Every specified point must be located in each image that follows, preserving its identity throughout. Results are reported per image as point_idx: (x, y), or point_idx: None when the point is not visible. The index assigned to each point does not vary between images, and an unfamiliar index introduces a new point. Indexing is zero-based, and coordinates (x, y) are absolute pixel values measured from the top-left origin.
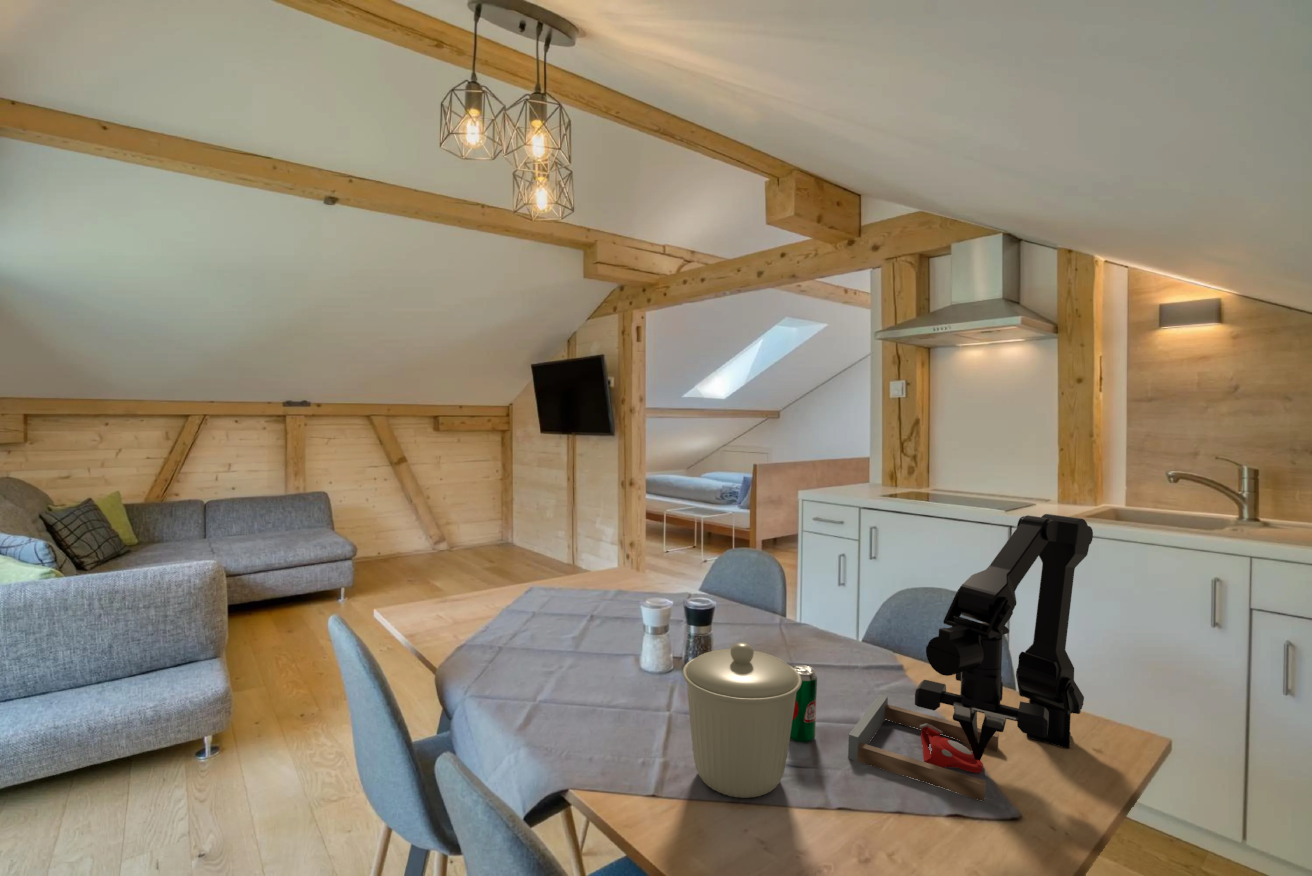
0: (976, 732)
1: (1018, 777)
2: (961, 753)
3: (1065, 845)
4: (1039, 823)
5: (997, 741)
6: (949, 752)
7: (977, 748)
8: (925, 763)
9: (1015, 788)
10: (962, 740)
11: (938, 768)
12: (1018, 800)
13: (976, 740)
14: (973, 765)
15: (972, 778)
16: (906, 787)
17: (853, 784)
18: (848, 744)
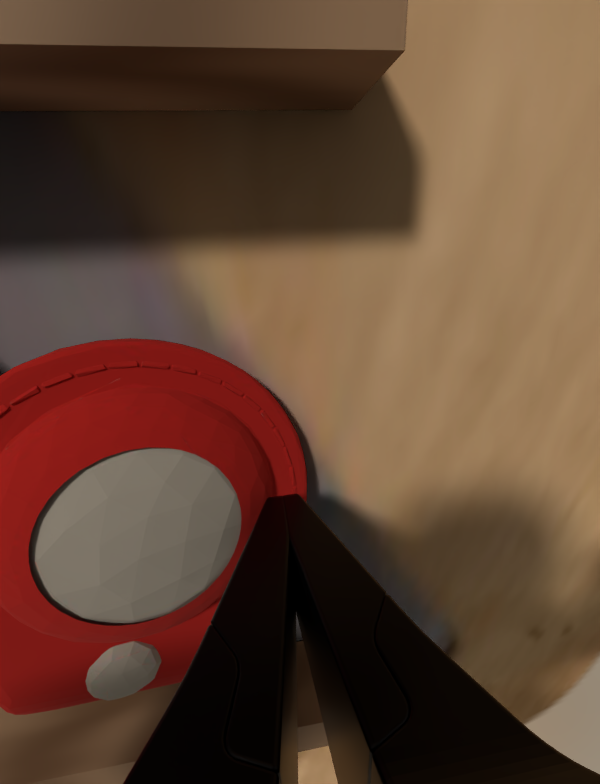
0: (290, 742)
1: (471, 407)
2: (195, 607)
3: (549, 670)
4: (502, 638)
5: (382, 74)
6: (135, 669)
7: (295, 618)
8: (86, 776)
9: (449, 509)
10: (48, 110)
11: None
12: (454, 576)
13: (295, 698)
14: None
15: (310, 733)
16: None
17: None
18: None
